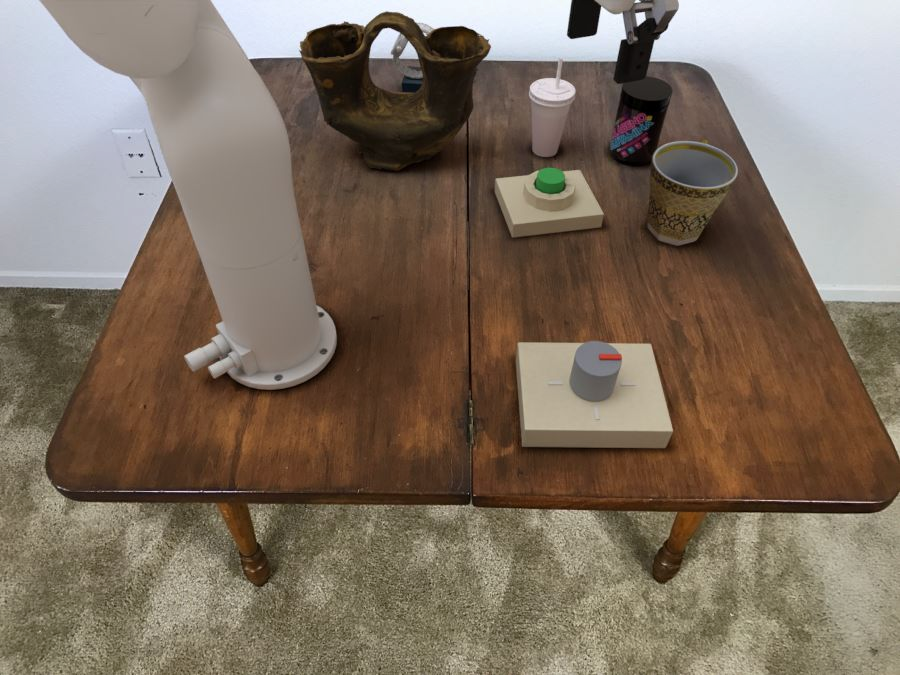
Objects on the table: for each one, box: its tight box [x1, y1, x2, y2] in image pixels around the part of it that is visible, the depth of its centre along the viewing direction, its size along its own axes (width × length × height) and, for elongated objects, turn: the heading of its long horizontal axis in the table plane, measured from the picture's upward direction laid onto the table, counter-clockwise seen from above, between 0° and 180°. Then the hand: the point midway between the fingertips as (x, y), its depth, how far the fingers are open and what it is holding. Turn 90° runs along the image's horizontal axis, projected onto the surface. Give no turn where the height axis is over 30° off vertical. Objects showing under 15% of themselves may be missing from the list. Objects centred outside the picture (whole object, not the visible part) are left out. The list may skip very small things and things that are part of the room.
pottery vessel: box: [298, 10, 492, 172], centre depth 92 cm, size 25×11×20 cm, turn 86°
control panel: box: [515, 341, 674, 449], centre depth 68 cm, size 14×11×3 cm
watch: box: [390, 22, 435, 93], centre depth 107 cm, size 6×8×11 cm
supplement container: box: [609, 75, 673, 167], centre depth 96 cm, size 7×7×10 cm
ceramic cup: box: [646, 138, 739, 247], centre depth 85 cm, size 13×10×10 cm
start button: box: [536, 167, 565, 194], centre depth 87 cm, size 4×4×2 cm
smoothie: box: [528, 57, 576, 158], centre depth 95 cm, size 6×6×14 cm
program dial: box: [569, 340, 622, 401], centre depth 66 cm, size 4×4×4 cm
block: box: [494, 169, 605, 238], centre depth 89 cm, size 12×10×4 cm
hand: (604, 57), depth 67 cm, fingers open, 9 cm apart
